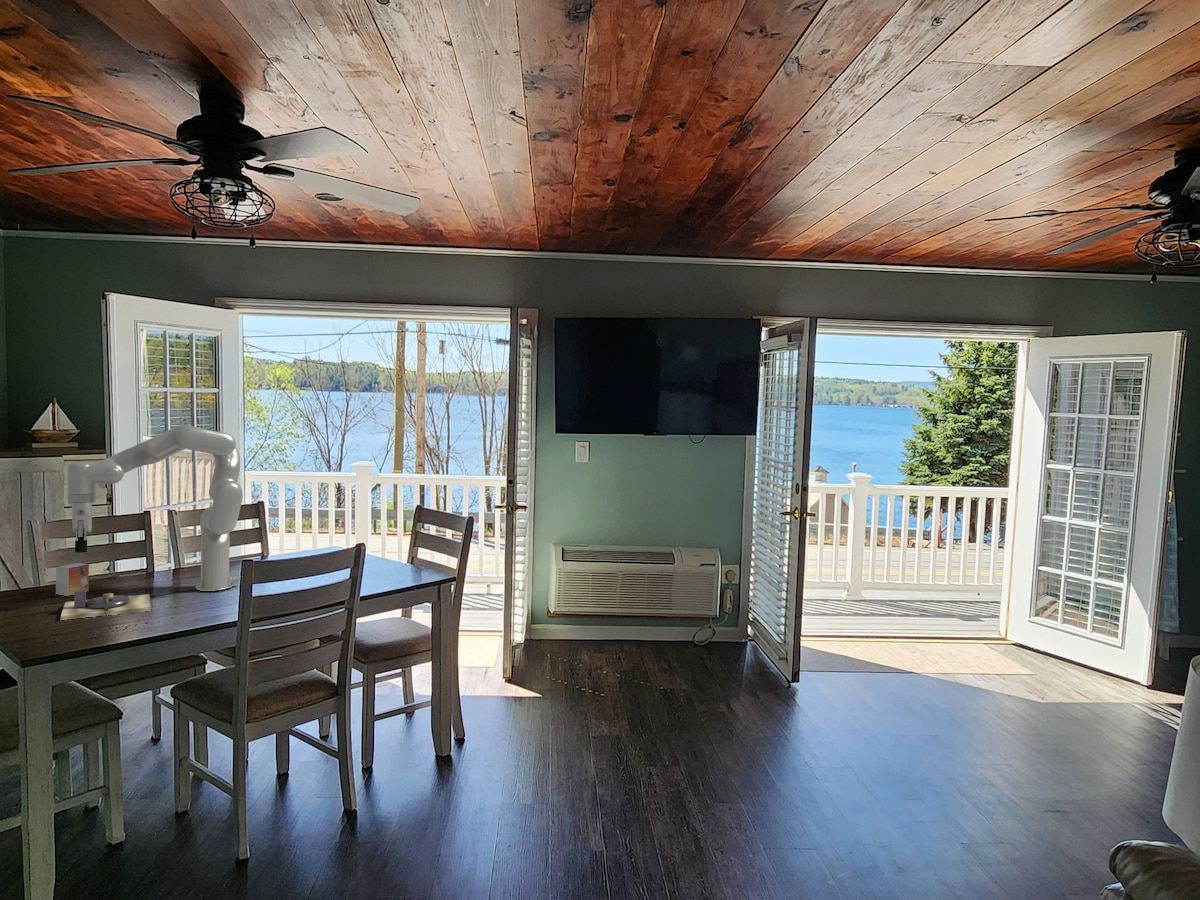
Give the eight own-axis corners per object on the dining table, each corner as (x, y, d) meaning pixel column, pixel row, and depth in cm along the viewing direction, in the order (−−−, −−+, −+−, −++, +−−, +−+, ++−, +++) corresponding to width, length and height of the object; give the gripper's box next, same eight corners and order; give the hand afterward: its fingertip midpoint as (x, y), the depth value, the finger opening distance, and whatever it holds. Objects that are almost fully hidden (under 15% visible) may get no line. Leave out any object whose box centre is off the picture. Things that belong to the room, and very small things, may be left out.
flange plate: (129, 596, 240) (129, 582, 240) (129, 605, 230) (129, 590, 230) (75, 601, 231) (75, 587, 231) (73, 611, 222) (73, 595, 221)
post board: (149, 598, 246) (149, 580, 246) (150, 611, 231) (150, 592, 231) (65, 606, 232) (65, 587, 232) (60, 621, 218) (60, 600, 217)
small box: (68, 597, 242) (68, 568, 242) (55, 596, 244) (55, 566, 243) (89, 592, 250) (89, 563, 250) (76, 590, 251) (76, 562, 251)
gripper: (94, 501, 228) (93, 555, 229) (96, 495, 240) (95, 547, 241) (65, 501, 224) (65, 557, 225) (69, 496, 236) (68, 548, 237)
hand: (81, 551), depth 233 cm, fingers closed
